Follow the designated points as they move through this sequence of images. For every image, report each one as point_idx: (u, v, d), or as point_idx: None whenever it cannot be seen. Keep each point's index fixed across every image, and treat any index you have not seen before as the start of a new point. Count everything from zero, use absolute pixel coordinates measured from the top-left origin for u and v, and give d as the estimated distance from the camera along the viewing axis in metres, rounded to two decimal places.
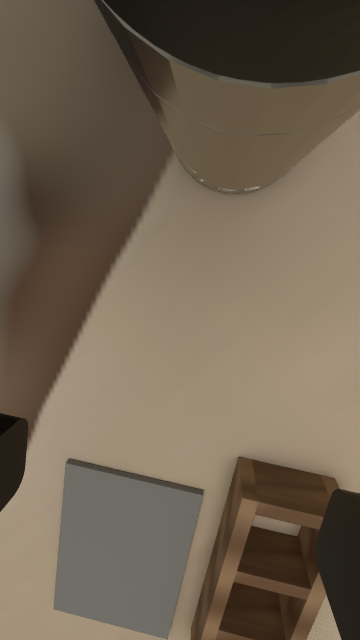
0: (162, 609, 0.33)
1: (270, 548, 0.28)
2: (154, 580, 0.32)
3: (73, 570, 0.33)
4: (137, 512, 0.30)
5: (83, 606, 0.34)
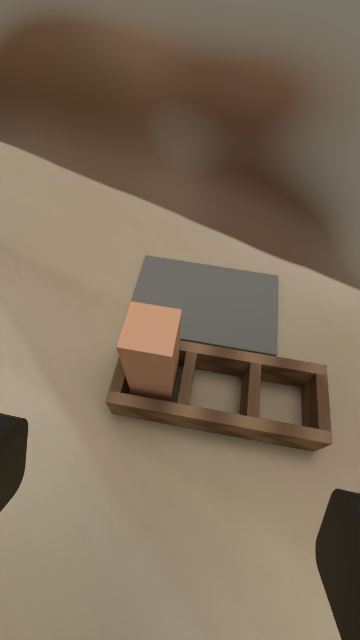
0: None
1: None
2: (187, 321, 0.42)
3: (187, 271, 0.47)
4: (250, 313, 0.43)
5: (152, 274, 0.46)
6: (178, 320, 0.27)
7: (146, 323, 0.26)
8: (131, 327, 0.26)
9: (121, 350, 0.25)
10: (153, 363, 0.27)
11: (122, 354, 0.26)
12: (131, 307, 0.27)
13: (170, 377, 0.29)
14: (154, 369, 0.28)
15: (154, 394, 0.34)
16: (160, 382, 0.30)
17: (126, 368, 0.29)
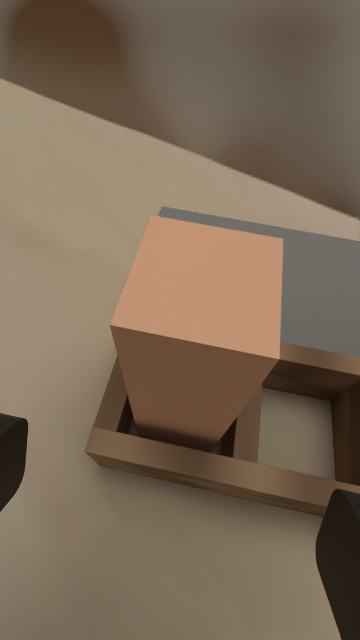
0: None
1: None
2: None
3: None
4: (331, 295, 0.27)
5: None
6: (279, 263, 0.10)
7: (195, 267, 0.10)
8: (153, 273, 0.09)
9: (124, 336, 0.09)
10: (208, 376, 0.10)
11: (127, 349, 0.09)
12: (154, 229, 0.10)
13: (238, 410, 0.12)
14: (205, 390, 0.11)
15: (184, 436, 0.17)
16: (207, 418, 0.14)
17: (134, 385, 0.12)
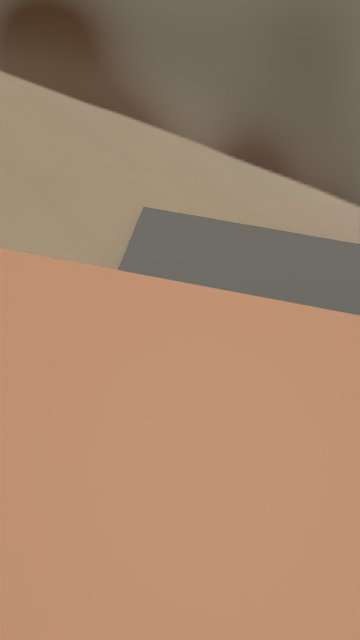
0: None
1: None
2: None
3: (228, 238, 0.22)
4: None
5: (155, 242, 0.22)
6: None
7: (100, 535, 0.02)
8: None
9: None
10: None
11: None
12: None
13: None
14: None
15: None
16: None
17: None
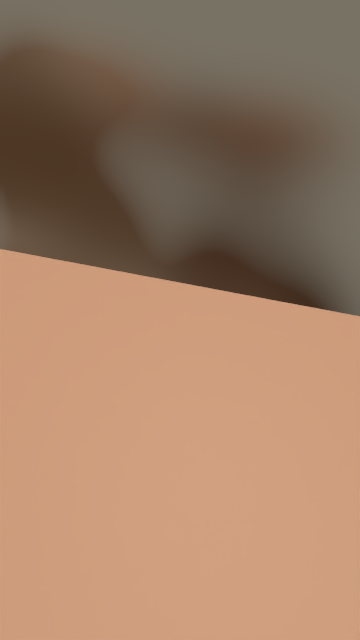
0: None
1: None
2: None
3: None
4: None
5: None
6: None
7: (99, 539, 0.02)
8: None
9: None
10: None
11: None
12: None
13: None
14: None
15: None
16: None
17: None
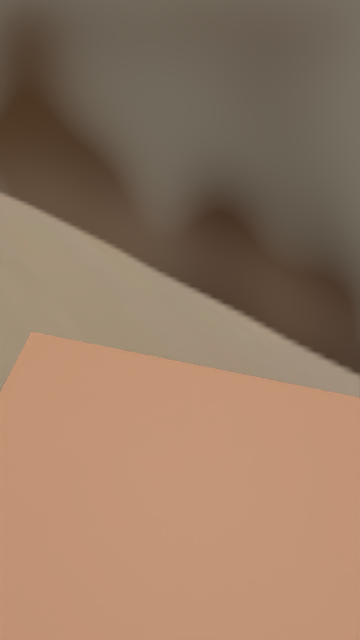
0: None
1: None
2: None
3: None
4: None
5: None
6: None
7: (128, 541, 0.03)
8: None
9: None
10: None
11: None
12: (29, 381, 0.04)
13: None
14: None
15: None
16: None
17: None
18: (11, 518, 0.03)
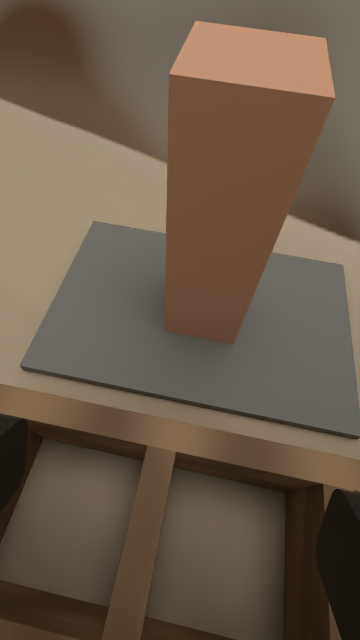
0: (96, 360, 0.19)
1: None
2: (163, 352, 0.20)
3: None
4: (294, 337, 0.21)
5: (101, 254, 0.24)
6: (324, 50, 0.10)
7: (244, 48, 0.10)
8: (204, 49, 0.10)
9: (180, 95, 0.09)
10: (256, 160, 0.10)
11: (179, 126, 0.10)
12: (200, 28, 0.11)
13: (277, 229, 0.12)
14: (249, 194, 0.11)
15: (213, 309, 0.17)
16: (242, 259, 0.14)
17: (175, 205, 0.12)
18: (207, 44, 0.10)
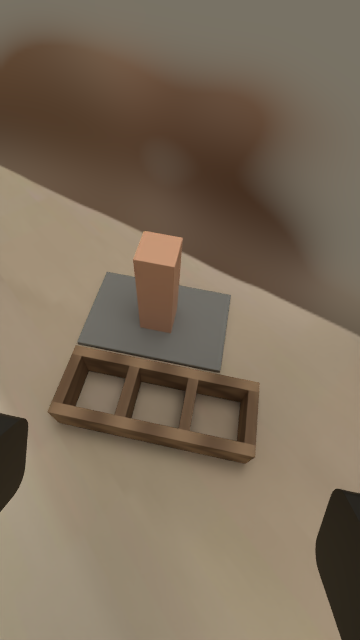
0: (110, 340, 0.44)
1: None
2: (139, 336, 0.45)
3: None
4: (199, 330, 0.46)
5: (111, 290, 0.49)
6: (179, 244, 0.35)
7: (155, 245, 0.35)
8: (144, 247, 0.35)
9: (136, 263, 0.34)
10: (159, 276, 0.35)
11: (137, 268, 0.35)
12: (144, 235, 0.36)
13: (172, 293, 0.37)
14: (160, 283, 0.36)
15: (158, 318, 0.42)
16: (164, 301, 0.39)
17: (138, 285, 0.37)
18: (145, 244, 0.35)
